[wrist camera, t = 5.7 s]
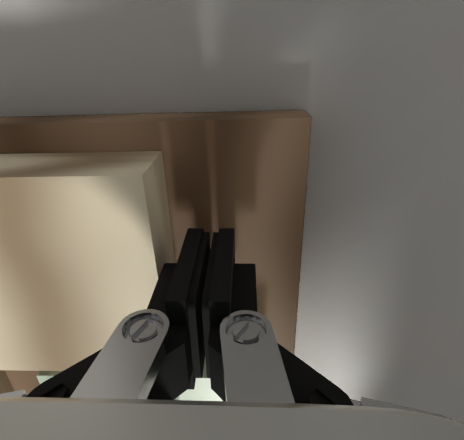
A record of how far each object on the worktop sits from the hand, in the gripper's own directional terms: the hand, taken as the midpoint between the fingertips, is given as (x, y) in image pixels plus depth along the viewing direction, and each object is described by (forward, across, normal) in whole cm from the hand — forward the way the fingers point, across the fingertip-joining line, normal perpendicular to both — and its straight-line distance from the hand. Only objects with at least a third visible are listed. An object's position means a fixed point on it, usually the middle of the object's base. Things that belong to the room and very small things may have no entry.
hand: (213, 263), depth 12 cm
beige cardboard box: (+1, +5, 0) cm, 5 cm away
